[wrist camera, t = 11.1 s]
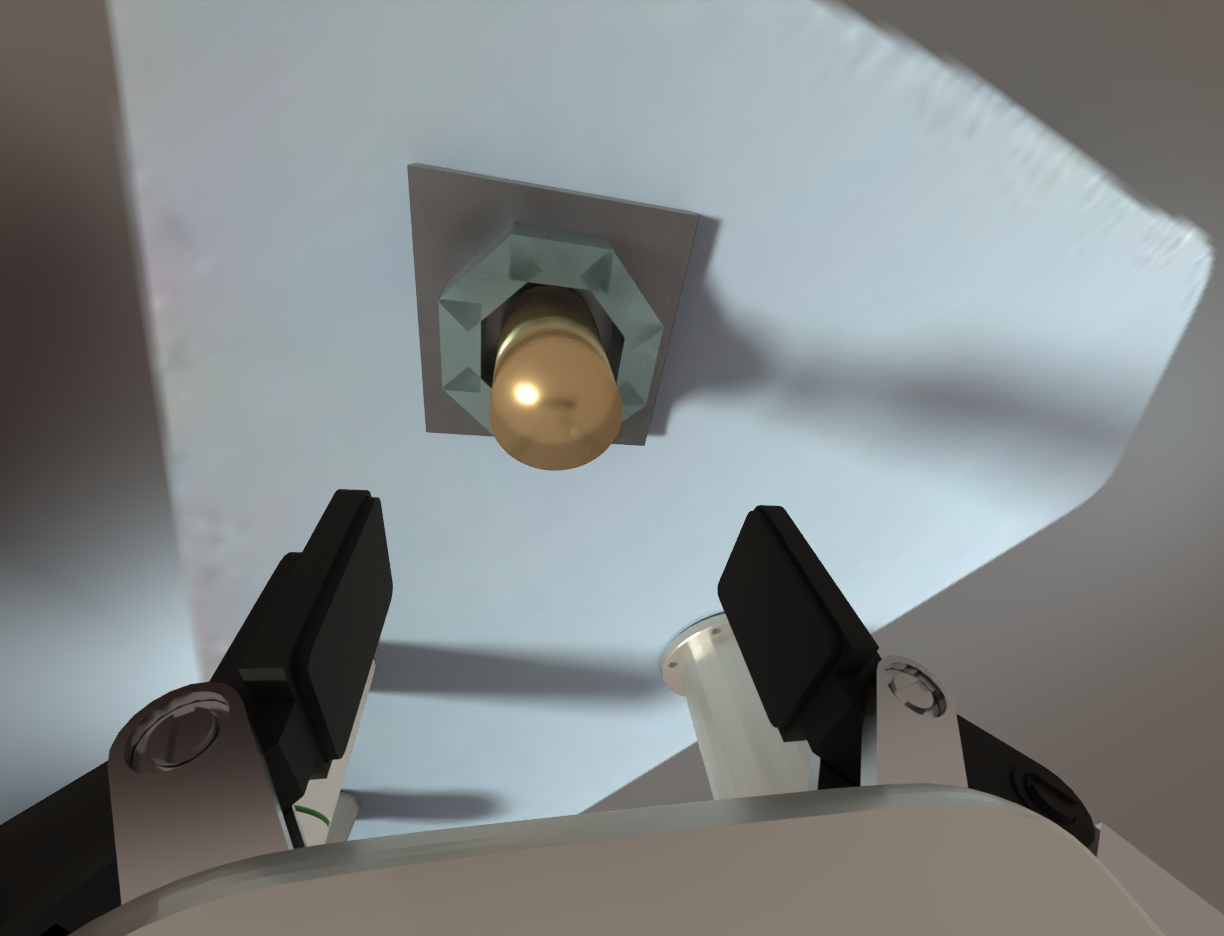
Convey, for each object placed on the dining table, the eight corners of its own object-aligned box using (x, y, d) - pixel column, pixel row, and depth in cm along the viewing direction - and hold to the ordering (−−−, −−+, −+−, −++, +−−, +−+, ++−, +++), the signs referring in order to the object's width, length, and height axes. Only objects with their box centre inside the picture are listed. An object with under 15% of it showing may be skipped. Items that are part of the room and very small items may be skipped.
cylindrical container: (274, 686, 37) (-24, 1331, 17) (273, 632, 34) (-103, 1366, 14) (371, 692, 40) (208, 1266, 20) (380, 642, 36) (192, 1282, 16)
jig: (689, 211, 22) (721, 226, 18) (639, 432, 28) (655, 476, 25) (415, 163, 19) (388, 169, 16) (430, 418, 26) (414, 464, 22)
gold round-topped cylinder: (603, 292, 22) (633, 360, 15) (590, 382, 24) (611, 473, 18) (502, 279, 21) (489, 346, 14) (499, 374, 23) (487, 467, 17)
